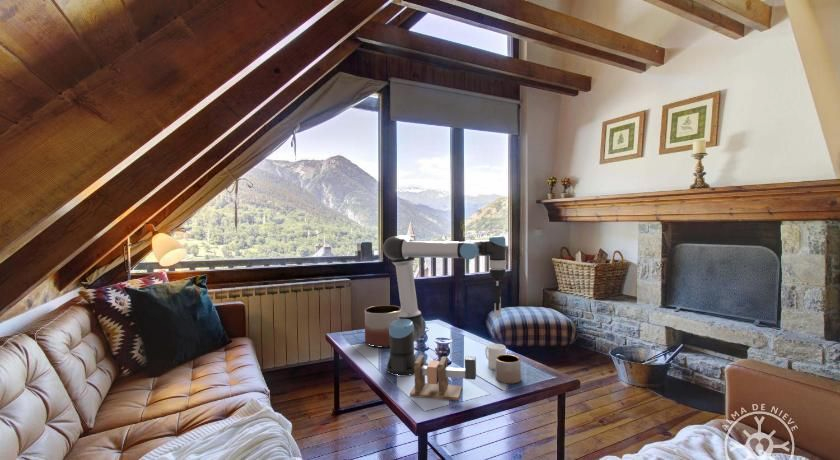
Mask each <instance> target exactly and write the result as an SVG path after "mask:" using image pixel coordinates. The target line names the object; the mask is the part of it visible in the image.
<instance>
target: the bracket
mask: <svg viewBox="0 0 840 460" xmlns="http://www.w3.org/2000/svg"><path fill="white" fill-rule="evenodd" d="M421 365H423V366H426V365H425V355H422V354H419V355H418V357H417V358H416V361H415V363H414V372H415V373H414V386H413V388H412V390H410V393H409V397H411V396H417V397H416V398H424V399H425V398H427V399H436V400H437V399H438V400H446V401H447V400H448V401H449V400H450V401H459V400H460V396H461V394H462V389H463V386H462V385H453V384H449V380H448V378H449V377H445V368H444V367H448V356H442V357H441V358H440V362H439V364H438V379H439V381H438V383H437V384H427V382H426V376H425V375H421Z"/></svg>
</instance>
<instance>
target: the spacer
mask: <svg viewBox="0 0 840 460" xmlns="http://www.w3.org/2000/svg"><path fill="white" fill-rule="evenodd" d="M439 362H440V361H439V360H430V361H429V362H428V364H427V365H426V366H427V376H426V378H427V379H426V380H427V381H426V383H427V384H439V379H438V376H437V369H438V364H439Z"/></svg>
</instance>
